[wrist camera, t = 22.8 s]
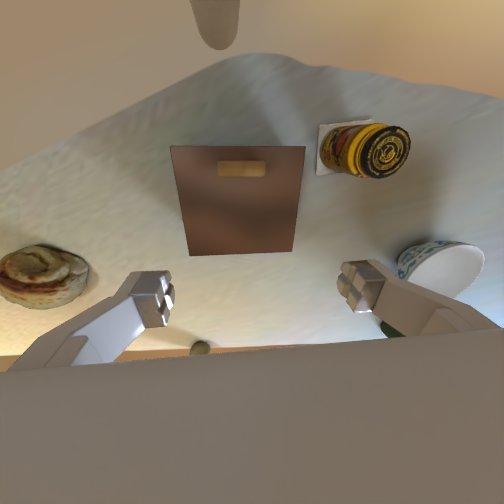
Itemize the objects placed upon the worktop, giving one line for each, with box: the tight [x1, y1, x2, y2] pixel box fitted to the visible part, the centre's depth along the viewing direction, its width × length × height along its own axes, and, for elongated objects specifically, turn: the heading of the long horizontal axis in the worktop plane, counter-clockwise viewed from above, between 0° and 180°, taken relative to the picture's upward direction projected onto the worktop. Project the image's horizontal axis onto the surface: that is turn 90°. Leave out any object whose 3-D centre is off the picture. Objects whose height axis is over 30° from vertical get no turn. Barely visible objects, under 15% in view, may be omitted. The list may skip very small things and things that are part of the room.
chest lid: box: [170, 146, 306, 256], centre depth 25 cm, size 14×16×4 cm
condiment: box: [316, 119, 411, 179], centre depth 27 cm, size 7×8×12 cm
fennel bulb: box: [189, 342, 210, 356], centre depth 48 cm, size 6×5×12 cm
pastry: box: [0, 246, 89, 310], centre depth 35 cm, size 14×12×8 cm
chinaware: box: [396, 241, 485, 298], centre depth 42 cm, size 15×15×8 cm
